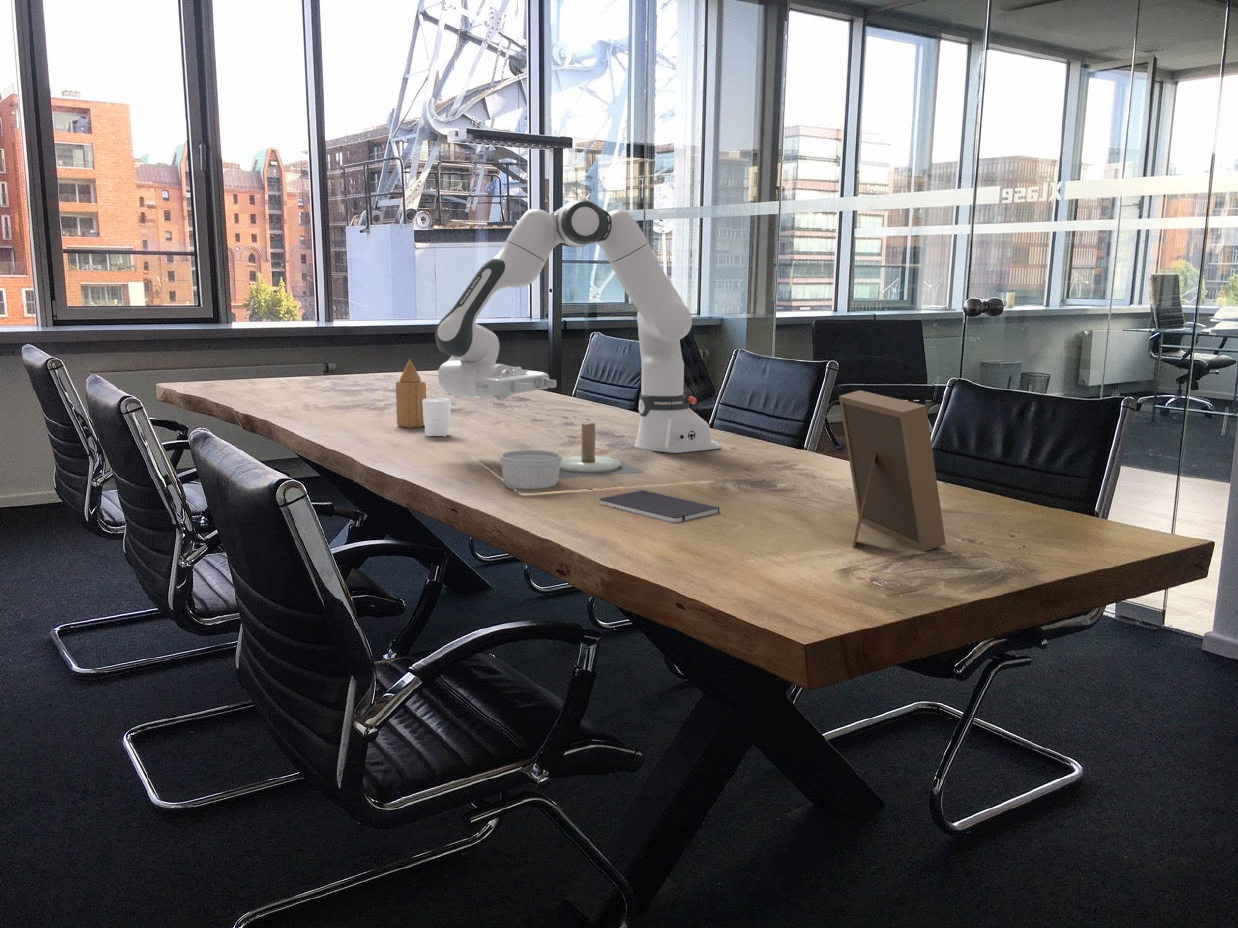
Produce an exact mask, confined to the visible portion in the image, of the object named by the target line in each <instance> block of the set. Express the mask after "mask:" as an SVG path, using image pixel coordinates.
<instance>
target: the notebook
mask: <svg viewBox="0 0 1238 928" xmlns="http://www.w3.org/2000/svg"><path fill="white" fill-rule="evenodd" d="M599 501H600V505H601V504H604V505H603V506H605V505H608V506H607V507H609V506H612V507H611V508H613V507H616V508H615V509H617V508H619V509H618V510H621V509H623V510H622V511H625V510H626V512H629V511H630V513H634V514H637V513H638V515H641V514H642V516H645V515H646V517H651V518H654V519H658V520H662V521H666V522H670V523H680V522H685V521H688V520H692V519H696V518H699V517H704V516H709V515H714V514H717V513H720V506H714V505H710V504H705V503H701V502H696V501H692V500H687V499H685V498H684V499H683V498H679V497H674V496H671V495H670V496H669V495H666V494H661V493H656V492H652V491H648V490H644V489H643V490H642V489H641V490H635V491H632V492H627V493H620V494H615V495H611V496H606V497H601V498H599Z"/></svg>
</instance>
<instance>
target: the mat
mask: <svg viewBox="0 0 1238 928" xmlns="http://www.w3.org/2000/svg"><path fill="white" fill-rule="evenodd" d="M609 457H610V458H615V459H617V458H616V457H614V456H609ZM618 460H619V461H620V468H619V469H617V470H614V471H608V472H599V473H578V472H569V471H564V470H560V469H559V476H558V478H573V477H574V478H577V477H592V476H605V475H622V474H637V473H644V471H643V470H641V469H639V468H637V467H635V466H632V465H630V464H628V463H626V462H624V461H622V460H620V459H618Z"/></svg>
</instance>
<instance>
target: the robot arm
mask: <svg viewBox="0 0 1238 928" xmlns="http://www.w3.org/2000/svg"><path fill="white" fill-rule="evenodd" d="M594 243H595V244H597V245H598V247H600V249H602V252H604V253H605V256H606V259H607V260H608V263H609V265H610V266H611V268H612V270H613V272H614V274H615V277H616V278H617V280H618V281H619V283H620V285H621V287H622V289H623V291H624V292H625V293H626V294H627V296H628V297H629V299H630V300H631V302H632V304H633V305H634V307H635V309H636V310H637V313H636V314H637V315H636V322H637V327H638V328H637V330H638V331H637V332H638V343H639V344H638V345H639V353H640V359H641V361H640V362H641V363H640V364H641V376H640V377H641V383H640V385H641V390H640V391H641V392H640V393H639V401H638V410H639V411H638V413H639V424H638V431H637V435H636V440H635V442H634V447H635V448H638V449H641V450H648V451H651V452H659V453H661V452H662V453H663V452H664V453H668V454H669V453H670V454H679V453H688V452H689V453H690V452H697V451H698V452H699V451H709V450H717V449H720V443H719V442H717V441H715V440H713V439H712V435H711V428H710V425H709V423H708V422H707V421H706V420H705V419H703V418H702V417H700V416H699V415H698V414H697V413H696V412H695V411H693V410H692V409H691V408H690V405H696V403H697V398H696V397H695V396H692V395H690V396H688V395H686V394H684V384H685V383H684V379H685V377H684V376H685V364H684V363H685V362H684V359H683V355H682V347H681V341H680V340H682V339H683V338H685V337H686V336H687V335H688V334H689V332H690V331H691V328H692V327H693V326H692V324H693V318H692V314H691V312H690V310H689V308H688V307H687V306H686V305H685V303H684V302H685V301H684V300H683V299H682V298H681V296H680V295H679V293H678V291H677V290H676V288H675V287H674V285H673V283H672V282H671V280H670V279H669V277H668V276H667V275H666V273H665V272H664V270H663V268H662V267H661V265H660V262H659V261H658V259H657V257H656V255H655V253H654V251H653V248H652V247H651V245H650V243H649V241H648V239H647V237H646V235H645V234H644V232H643V231H642V229H641V227H640V225H639V224H638V222H636V220H635V219H634V218H633V216H632V215H631V213H629V212H628V211H627V210H625V209H621V208H618V209H613V210H609V211H607V210H605V209H603V208H601V206H599V205H597V204H596V203H595V202H592V201H590V200H587V199H576V200H573V201H569V202H567V203H565V204H564V205H562V206H561V207H560V208H558V209H557V210H555V211H553V212H551V213H550V212H548V211H546V210H544V209H540V208H530V209H528V210H527V211H525V212H524V213H523V215H522V216H521V217H520V218H519V219H518V221H517V222H516V224H515V225H514V227H513V228H512V229H511V231H510V233H509V234H508V236H507V237H506V240H505V241H504V243H503V245H502V247H501V249H500V250H499V251H498V253H496V255H495V256H494V257H493V258H490V259H489V260H486V261H485V263H483V265H482V266H481V267H480V268H479V269H478V271H477V272H476V274H475V275H474V276H473V278H472V279H471V281H470V283H469V284H468V285H467V287H465V289H464V291H463V293H462V294H461V295H460V297H459V299H458V300H457V301H456V303H455V304H454V306H453V307H452V308H451V309H450V310H449V311H448V312H447V313H446V314H445V315H444V317H443V318H441V320H440V321H439V322H438V324H437V326H436V329H435V335H434V336H435V342H436V346H437V348H438V349H439V351H440V352H442V353H443V354H445V355H448V356H450V357H449V358H448V359H447V360H446V361H445V362H443V363H442V364H441V365H440V366H439V369H438V371H437V376H438V377H437V378H438V382H439V385H440V386H441V389H442V390H444V391H445V392H446V393H447V394H450V395H453V396H457V397H464V398H480V399H482V400H483V399H485V400H491V401H492V400H493V401H504V400H506V399H507V398H509V397H510V396H512V395H515V394H520V393H525V392H534V391H539V390H544V389H548V388H551V389H552V388H557V380H556V379H550V376H549V374H548V373H547V372H543V371H537V370H530V369H522V367H521V366H516V365H515V366H513V365H512V366H511V365H507V364H504V363H497V360H498V357H499V353H500V349H501V344H500V340H499V337H498V335H497V334H496V333H495V332H493V331H491V330H490V329H488V328H486V327H484V326H483V325H480V324H479V323H476V321H477V319H478V316H480V314H481V312H482V311H483V309H484V308H485V306H486V305H487V303H488V302H489V301H490V299H491V297H492V296H493V295H494V294H495V293H496V292H497V291H499V290H501V289H506V288H523V287H526V286H528V285H531V284H533V283H534V282H535V281H536V279H537V278H538V277H539V276H540V274H541V272H542V270H543V268H544V266H545V265H546V263H547V261H548V259H549V256H550V254H551V253H552V251H553V250H554V248H555V247H556V246H557V245H560V246H565V247H571V248H575V247H576V248H580V247H585V246H587V245H591V244H594Z"/></svg>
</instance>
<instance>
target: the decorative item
mask: <svg viewBox="0 0 1238 928" xmlns="http://www.w3.org/2000/svg"><path fill="white" fill-rule="evenodd" d="M421 380H422V379H421V376H420V375H419V374H418V371H417V370H416V367H415V366H414V363H413V362H412V360H411V358H409V359H408V361H407V363H406V366H405V368H404V369H403V371H402V373H401V375H400V378H399V380H398V381H396V383H395V397H396V398H395V400H396V425H397V426H398V427H401V428H405V427H406V428H405V429H414V427H417V428H423V427H422V426H424V420H423V406H422V400H423V399H427V383H426V382H425V381H421Z"/></svg>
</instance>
